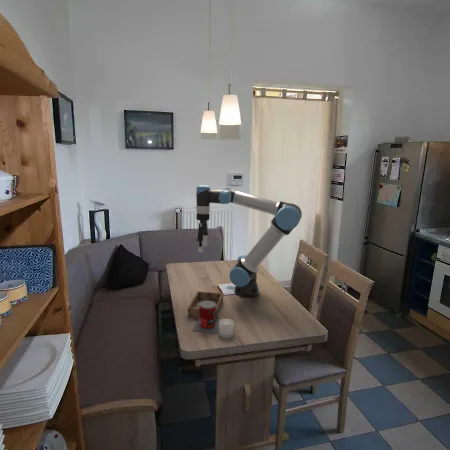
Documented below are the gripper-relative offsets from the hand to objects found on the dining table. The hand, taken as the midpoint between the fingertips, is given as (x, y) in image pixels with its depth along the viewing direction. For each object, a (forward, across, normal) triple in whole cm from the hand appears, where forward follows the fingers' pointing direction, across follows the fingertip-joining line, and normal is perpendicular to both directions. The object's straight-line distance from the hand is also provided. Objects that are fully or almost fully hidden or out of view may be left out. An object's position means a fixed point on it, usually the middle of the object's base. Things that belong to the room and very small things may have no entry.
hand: (202, 249), depth 184 cm
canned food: (+28, +35, +9) cm, 46 cm away
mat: (+29, +35, +9) cm, 46 cm away
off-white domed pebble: (+29, +42, +18) cm, 54 cm away
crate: (+29, +17, +5) cm, 34 cm away
